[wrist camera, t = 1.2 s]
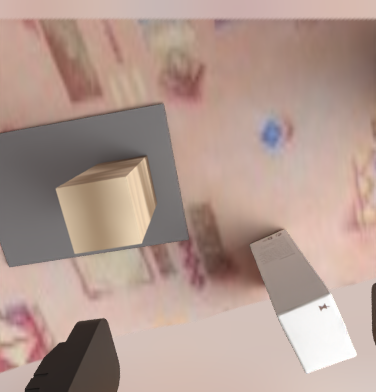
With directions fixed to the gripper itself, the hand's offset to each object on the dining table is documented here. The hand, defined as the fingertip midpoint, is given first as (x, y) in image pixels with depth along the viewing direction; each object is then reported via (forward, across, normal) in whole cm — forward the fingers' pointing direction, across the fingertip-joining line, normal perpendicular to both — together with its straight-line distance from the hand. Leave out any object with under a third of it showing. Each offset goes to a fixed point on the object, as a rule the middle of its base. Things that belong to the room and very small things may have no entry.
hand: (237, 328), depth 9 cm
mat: (+24, +13, 0) cm, 27 cm away
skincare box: (+24, -6, +11) cm, 27 cm away
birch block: (+23, +8, 0) cm, 25 cm away
